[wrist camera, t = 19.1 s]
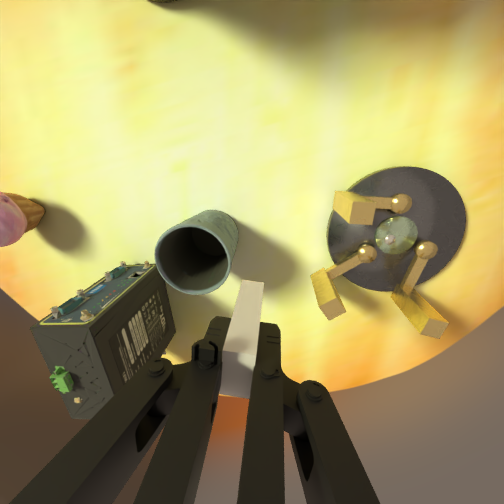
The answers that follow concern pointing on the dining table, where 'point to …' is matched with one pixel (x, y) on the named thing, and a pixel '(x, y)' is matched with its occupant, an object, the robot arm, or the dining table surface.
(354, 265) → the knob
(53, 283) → the dining table surface
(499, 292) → the dining table surface
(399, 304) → the ball-tipped golden bracket
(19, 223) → the cupcake
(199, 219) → the grey cup
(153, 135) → the dining table surface
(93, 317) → the router
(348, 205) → the tan l-shaped bracket
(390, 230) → the levelling plate
